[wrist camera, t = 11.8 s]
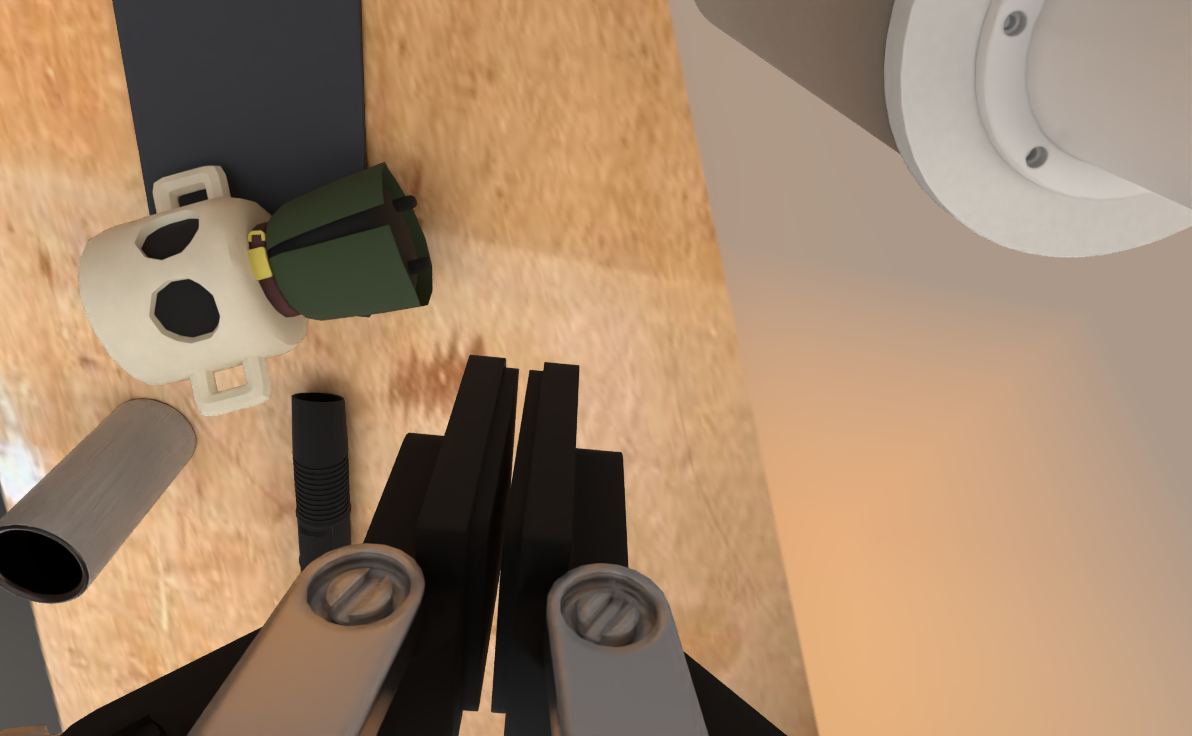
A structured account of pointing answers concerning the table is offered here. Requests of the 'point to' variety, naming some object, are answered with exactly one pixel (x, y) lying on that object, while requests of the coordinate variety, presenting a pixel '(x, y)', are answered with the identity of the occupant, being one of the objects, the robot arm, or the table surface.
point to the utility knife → (320, 474)
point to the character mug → (247, 277)
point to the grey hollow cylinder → (92, 502)
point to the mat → (246, 92)
